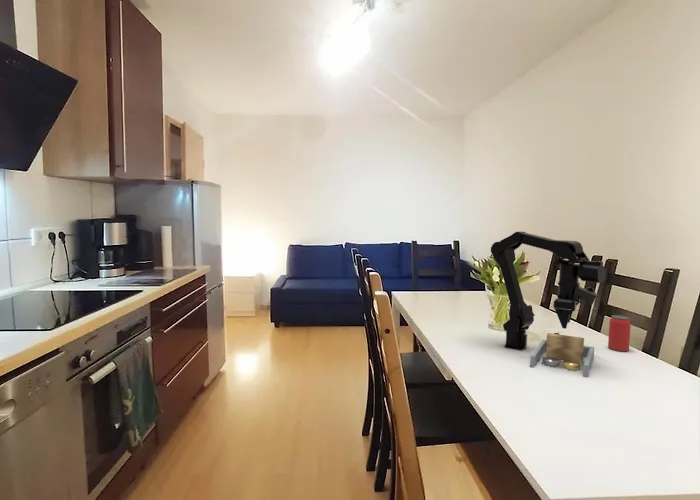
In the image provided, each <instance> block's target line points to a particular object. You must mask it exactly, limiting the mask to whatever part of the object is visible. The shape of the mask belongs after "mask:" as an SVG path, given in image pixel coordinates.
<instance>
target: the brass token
mask: <svg viewBox="0 0 700 500" xmlns="http://www.w3.org/2000/svg"><path fill="white" fill-rule="evenodd" d="M562 369H565V370H566V369H567V371H571V370H572V371H573V372H577V370H579V371H580V370H581V364H580V363H579V362H577V361H573V360H564V361H562ZM572 371H571V372H572Z"/></svg>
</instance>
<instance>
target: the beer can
mask: <svg viewBox="0 0 700 500" xmlns="http://www.w3.org/2000/svg"><path fill="white" fill-rule="evenodd" d="M608 324H609V325H608V339H607V347H608V348H609V349H610V350H612V351H616V352H628V351H629V350H630V342H631V341H630V340H631V328H632V327H631V326H632V325H631V320H630V316H626V315H620V314H613V315H611V318H610V319H609V323H608Z"/></svg>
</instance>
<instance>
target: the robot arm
mask: <svg viewBox="0 0 700 500" xmlns="http://www.w3.org/2000/svg"><path fill="white" fill-rule="evenodd" d="M522 245H526V246H530V247H533V248H538V249H542V250H546V251H549V252H551V253H552V254H553V255H555V256H557V257H558V258H557V259H556V260H555V261H553V265H558V266H559V276H558V277H559V278H558V280H559V281H557V285H558V293H557V296H556V297H557V298H556V299H554V301H553V306H552V307H553V309H554V310H555V314H556V316H557V318H558V320H559V322H560V325H561V328H562V329H564V330H565V329H567V326H568V324H569V323H570V321H571V319H572V317H573V316H572V315H573V312H575V311H576V308H577V306H579V304H580V303H581V300H582V301H584V302H585V303H588V305H589V304H590V305H593V304H594V302H595V300H596V298H597V296H598V293H596V292H595V288H594V287H591V286H588V287H587V288H586V287H581V285H580V284H581V283H580V282H579V279H580V280H581V281H582V282H588V283H596V284H602V283H603V282H604V281H605V280H606V279H605V278H606V274H607V273H606V269H605V266H604V262H603V261H602V260H601V261H600V260H596V261H594V260H590V259H589V257H588V256H587V254H586V253H585V252H584V248H583V245H582V243H581V242H580V241H577V240H567V239H566V240H562V239H561V240H559V239H552V238H549V237H545V236H540V235H537V234H532V233H529V232H526V231H514V232H513V233H512V234H510V236H506V237H505V238H503V239H501V240H500V241H495V242H493V243H492V244H491V247H490V253H491V255H492V257H493V260H494V261H495V262H496V264H497V265H498V266H499V267H500V271H501V275H502V278H503V279H502V280H503V282H504V286H505V289H506V293H507V296H508V297H507V298H508V301H509V310H508V317H509V319H508V320H507V321H506V322H505V323H503V324H502V327H503V331H504V332H506V334H505V335H506V336H505V344H504V348H509V349H514V350H521V351H522V350H525V349H526V347H527V346H528V334H527V330H529V329H530V326H532V324H533V322H534V321H535V318H534V317H535V313H534V311H533V306H532V305H531V304H529V305H528V304H527V303H526V302H525V300H524V297H523V293H522V290H521V287H520V282H519V278H518V275H517V271H516V267H515V265H514V264H515V263H514V261H515V258H516V254H515V250H517V249H519V248H520V247H521V246H522Z"/></svg>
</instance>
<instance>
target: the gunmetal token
mask: <svg viewBox="0 0 700 500" xmlns="http://www.w3.org/2000/svg"><path fill="white" fill-rule="evenodd" d="M541 360H542V363H541V364H542V365H543V364H544V365H543V366H545V365H546V366H545V367H548V366H550V367H549V368H559V367H560V360H559V359H557V358H554V357H546V356H543V357H542V359H541ZM558 366H559V367H558Z"/></svg>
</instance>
